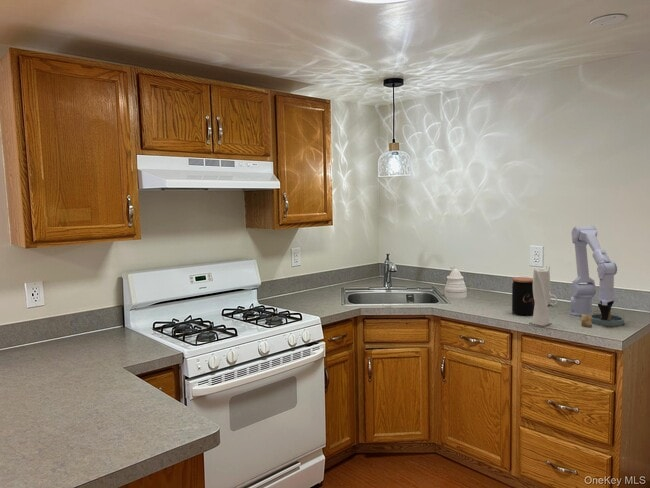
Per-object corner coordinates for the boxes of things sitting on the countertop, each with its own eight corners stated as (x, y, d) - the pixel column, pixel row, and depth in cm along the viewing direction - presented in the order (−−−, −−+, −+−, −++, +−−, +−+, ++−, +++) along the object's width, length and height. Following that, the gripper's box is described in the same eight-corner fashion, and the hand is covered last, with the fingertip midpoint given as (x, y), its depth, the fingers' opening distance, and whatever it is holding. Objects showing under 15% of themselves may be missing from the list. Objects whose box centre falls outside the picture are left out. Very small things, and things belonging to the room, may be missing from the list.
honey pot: (441, 297, 301) (441, 267, 299) (449, 293, 311) (449, 264, 310) (462, 299, 293) (462, 268, 292) (469, 295, 304) (469, 266, 302)
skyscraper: (554, 324, 232) (555, 265, 230) (544, 327, 228) (545, 266, 225) (537, 321, 239) (538, 263, 236) (527, 324, 234) (528, 265, 232)
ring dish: (587, 323, 232) (587, 318, 232) (591, 317, 244) (591, 312, 244) (622, 327, 224) (622, 322, 224) (624, 320, 236) (624, 315, 236)
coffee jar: (524, 317, 248) (524, 281, 246) (507, 313, 257) (507, 278, 255) (539, 314, 253) (539, 279, 251) (522, 310, 262) (522, 276, 260)
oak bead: (580, 326, 228) (581, 315, 228) (582, 324, 232) (582, 313, 231) (590, 327, 226) (590, 316, 226) (591, 325, 230) (592, 314, 229)
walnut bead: (600, 323, 231) (600, 312, 230) (601, 321, 234) (601, 310, 233) (610, 324, 228) (610, 313, 228) (611, 322, 232) (611, 311, 231)
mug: (531, 305, 273) (531, 291, 273) (537, 302, 279) (537, 288, 279) (554, 308, 265) (554, 293, 264) (560, 305, 271) (560, 291, 270)
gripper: (615, 292, 221) (614, 322, 223) (617, 286, 233) (616, 315, 235) (597, 290, 225) (596, 320, 227) (600, 285, 237) (599, 313, 239)
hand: (605, 317), depth 231 cm, fingers open, 7 cm apart
